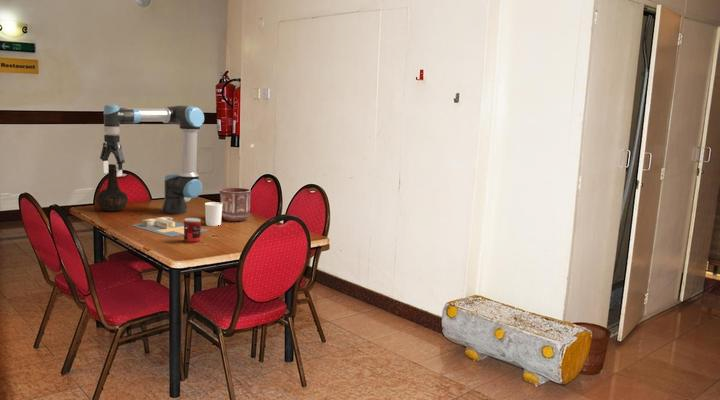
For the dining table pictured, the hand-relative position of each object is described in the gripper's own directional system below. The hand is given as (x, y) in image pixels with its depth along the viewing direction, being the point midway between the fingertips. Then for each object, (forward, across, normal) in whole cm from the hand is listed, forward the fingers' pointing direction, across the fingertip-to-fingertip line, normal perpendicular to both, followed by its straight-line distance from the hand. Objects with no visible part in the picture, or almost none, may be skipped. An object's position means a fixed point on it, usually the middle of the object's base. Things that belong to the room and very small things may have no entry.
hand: (112, 174), depth 326 cm
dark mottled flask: (+28, -38, +21) cm, 51 cm away
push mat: (+28, +25, +18) cm, 41 cm away
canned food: (+28, +56, +9) cm, 64 cm away
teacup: (+28, -39, +73) cm, 87 cm away
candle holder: (+28, +32, +42) cm, 60 cm away
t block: (+27, +19, +18) cm, 38 cm away
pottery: (+28, +28, +60) cm, 72 cm away
